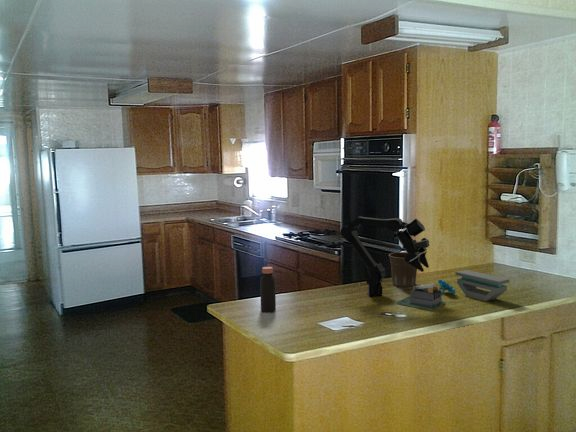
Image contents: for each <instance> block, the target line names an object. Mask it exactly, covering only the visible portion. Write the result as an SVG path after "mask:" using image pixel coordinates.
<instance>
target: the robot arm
mask: <svg viewBox="0 0 576 432" xmlns="http://www.w3.org/2000/svg"><path fill="white" fill-rule="evenodd" d="M361 226H368V227H375V228H382V229H385V230H388V231H392V232H393V233H392V239H393V240H394V239H398V241H399V242H400V244H401V245H402V247H401V248H402V249H403V250H405V252H406V253H408V254H407V256H405V258H404V260H405V262H406V263H407V262H409V261H410V262H409V263H408V264H410V265H412V266H414V267H415V268H417V271H420V272H421V273H423V272H425V269H424V267H425V268H426V269H428V268H429V267H430V265H429V263H428V260H427V256H426V255H427V250H428V249H427V248H429V247H430V240H429V239H427V237H423V238H421V240H419V241H417V240H416V239H413V237H416V236H418V235H420V234H422V233H423V232H425V230H426V228H425V226H424V224H423V223H422V222H421V221H419V220H418V218H414V219H412V221H411V222H410V223H408V222H404V221H403V220H402V219H401V218H398V217H397V218H396V217H394V218H386V219H385V218H377V217H376V218H375V217H366V216H365V217H364V216H357V217H356V218H355V219H353V220H352V221H351V222H350V223H348V224H347V225H345V226H343V227H341V229H340V232H339V233H340V235H341V237H342V238H343V239H344V240H345V241H346V242H348V243H349V244H351V246H352V247H353V249H354V250H355V252H356V253H357V254H358V256H359V257H360V260H362V261H363V263H364V265H365V266H366V268H367V272H368V274H369V277H368V278H366V280H365V282H366V284H367V292H366V294H367V296H368V297H370V298H373V297H376V298H378V297H383V286H382V281H383V280H384V279H385V278H386V275H387V271H386V268H385V267H384V265H382V263H381V262H379V263H377V262H376V261H375V260H374V258H373V257H372V256H371V254H370V253H369V251H368V249H366V247H365V246H364V244H363V243H362V241H361V240H360V237H359V234H358V231H357V230H359V228H361ZM423 266H424V267H423Z"/></svg>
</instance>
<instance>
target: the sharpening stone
mask: <svg viewBox="0 0 576 432" xmlns="http://www.w3.org/2000/svg"><path fill="white" fill-rule="evenodd" d="M454 274H455V276H459V278H456V279H457V280H456V284H457V285H458V287H459V288H460V289H461V291H462V293H464V294H463V295H465V297H469V298H472V299H475V300H479V301H483V302H488V301H492V300H496V299H498V298H499V297H500V296H502V295H503V294H505V292H507V291H508V285H505V284H508V283H510V278H505V277H500V276H496V275H492V274H487V273H482V272H477V271H473V270H468V269H464V270H459V271H455V273H454Z"/></svg>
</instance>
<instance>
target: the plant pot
mask: <svg viewBox="0 0 576 432" xmlns="http://www.w3.org/2000/svg"><path fill="white" fill-rule="evenodd" d="M407 254H408V253H407V252H406V251H405V252H402V251H401V252H398V251H397V252H391V253H389V254H388V256H389V262H390V268H391V283H392V285H393V286H394V287H395V286H396V287H401V288H404V287H406V288H409V287H411V288H413V287H414V286H416V282H417V280H416V279H417V273H418V272H417V271H418V269H417V268H415V267H414V266H412V265H410V264H408V263H409V262H410V261H409V262H407V263H406V262H405V260H404V258H405V256H407Z"/></svg>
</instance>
